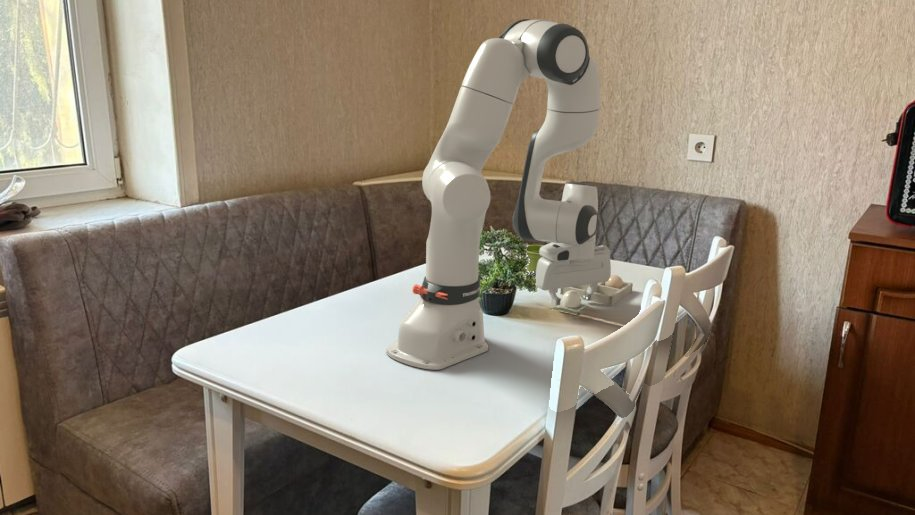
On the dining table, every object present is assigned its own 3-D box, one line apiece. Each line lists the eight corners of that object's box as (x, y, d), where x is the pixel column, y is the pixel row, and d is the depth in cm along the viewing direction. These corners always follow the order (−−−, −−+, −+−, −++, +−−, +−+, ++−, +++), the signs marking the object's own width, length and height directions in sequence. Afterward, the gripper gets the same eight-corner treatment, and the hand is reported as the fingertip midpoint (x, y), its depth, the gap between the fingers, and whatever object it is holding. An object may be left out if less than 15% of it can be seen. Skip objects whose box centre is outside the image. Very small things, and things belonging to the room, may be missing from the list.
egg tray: (611, 308, 171) (612, 297, 170) (560, 296, 178) (560, 285, 177) (631, 294, 182) (632, 283, 181) (582, 283, 189) (583, 273, 188)
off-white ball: (575, 313, 167) (577, 295, 166) (558, 308, 169) (559, 291, 168) (583, 307, 171) (585, 290, 169) (566, 303, 173) (568, 286, 172)
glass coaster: (577, 314, 166) (577, 311, 166) (553, 309, 169) (553, 306, 169) (588, 307, 171) (588, 304, 171) (565, 302, 174) (565, 299, 174)
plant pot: (514, 275, 195) (516, 246, 192) (543, 272, 198) (544, 243, 196) (531, 285, 186) (533, 254, 184) (560, 281, 190) (563, 251, 188)
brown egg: (618, 296, 177) (619, 279, 176) (601, 292, 180) (603, 275, 179) (624, 291, 181) (626, 275, 180) (608, 288, 184) (610, 271, 182)
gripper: (602, 241, 173) (598, 293, 177) (533, 248, 164) (530, 303, 168) (618, 247, 167) (613, 300, 171) (548, 255, 159) (544, 311, 163)
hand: (571, 302), depth 170 cm, fingers open, 8 cm apart
